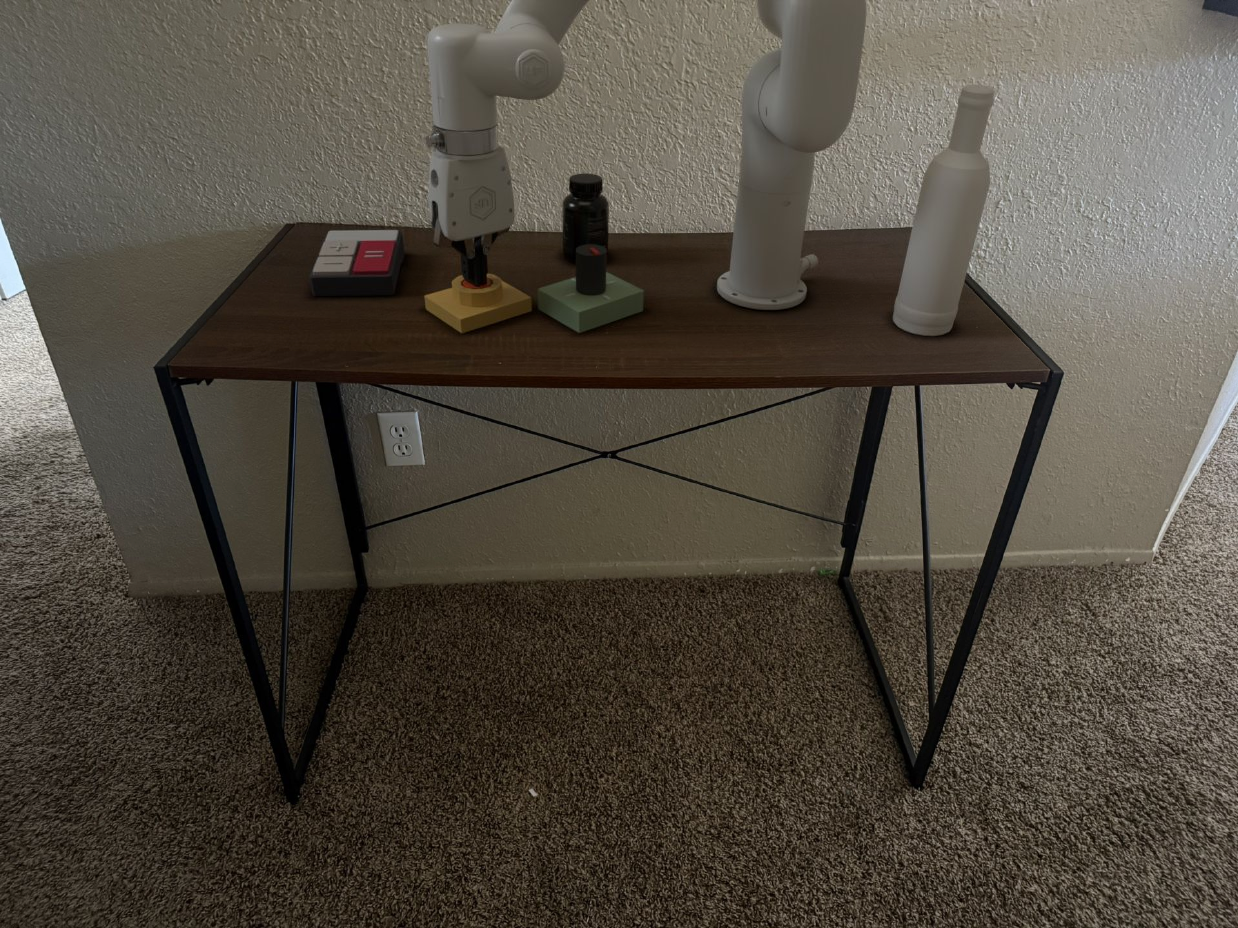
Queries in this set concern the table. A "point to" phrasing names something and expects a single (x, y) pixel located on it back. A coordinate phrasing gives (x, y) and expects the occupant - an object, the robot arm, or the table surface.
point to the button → (468, 285)
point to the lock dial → (591, 269)
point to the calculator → (358, 263)
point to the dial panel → (590, 303)
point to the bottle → (946, 222)
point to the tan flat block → (477, 304)
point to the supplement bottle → (584, 215)
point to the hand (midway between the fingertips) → (475, 282)
